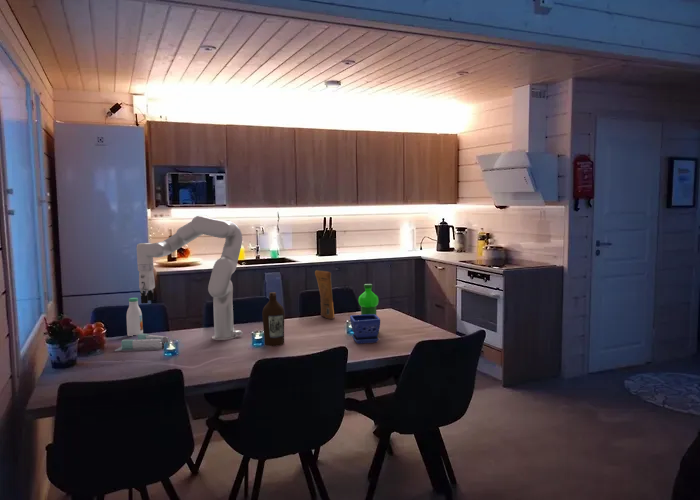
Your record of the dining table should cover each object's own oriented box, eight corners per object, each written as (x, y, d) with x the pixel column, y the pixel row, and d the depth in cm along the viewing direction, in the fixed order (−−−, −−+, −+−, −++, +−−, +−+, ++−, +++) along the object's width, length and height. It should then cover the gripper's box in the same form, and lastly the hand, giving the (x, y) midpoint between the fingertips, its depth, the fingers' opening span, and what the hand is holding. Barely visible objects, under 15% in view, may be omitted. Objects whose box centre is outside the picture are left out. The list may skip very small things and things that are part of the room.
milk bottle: (137, 337, 288) (135, 299, 287) (124, 337, 290) (122, 299, 288) (145, 333, 296) (143, 297, 294) (133, 333, 297) (130, 297, 296)
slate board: (181, 340, 277) (181, 339, 277) (169, 350, 257) (169, 349, 257) (129, 342, 277) (129, 340, 277) (113, 352, 257) (113, 351, 257)
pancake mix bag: (327, 320, 320) (325, 272, 318) (315, 314, 337) (313, 269, 335) (337, 318, 323) (336, 271, 321) (325, 313, 340) (324, 268, 338)
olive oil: (260, 343, 268) (258, 292, 266) (281, 340, 273) (279, 290, 271) (266, 347, 259) (264, 295, 257) (288, 344, 263) (286, 293, 261)
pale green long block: (168, 346, 262) (168, 336, 262) (166, 348, 259) (165, 338, 258) (124, 348, 262) (123, 337, 261) (121, 350, 258) (120, 339, 258)
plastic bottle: (362, 335, 280) (360, 286, 278) (357, 330, 290) (356, 283, 288) (381, 333, 282) (380, 285, 280) (376, 329, 292) (374, 282, 290)
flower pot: (381, 343, 261) (381, 318, 260) (354, 345, 259) (353, 320, 258) (375, 337, 274) (375, 313, 273) (349, 339, 272) (349, 315, 271)
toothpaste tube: (171, 345, 266) (170, 336, 265) (166, 346, 263) (165, 337, 262) (142, 341, 274) (142, 333, 274) (137, 343, 271) (136, 334, 271)
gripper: (147, 269, 269) (149, 304, 270) (158, 265, 286) (160, 298, 287) (131, 269, 268) (133, 305, 270) (144, 266, 286) (146, 299, 287)
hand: (147, 301), depth 278 cm, fingers open, 8 cm apart
